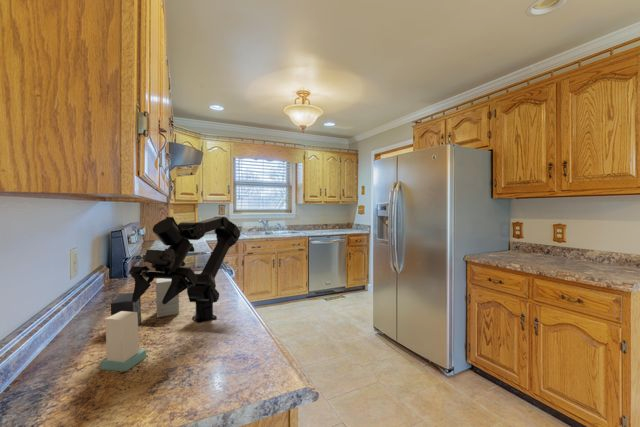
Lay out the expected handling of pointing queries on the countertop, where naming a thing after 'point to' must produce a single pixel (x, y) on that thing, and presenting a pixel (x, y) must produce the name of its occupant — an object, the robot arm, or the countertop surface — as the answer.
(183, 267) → the robot arm
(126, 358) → the cream column
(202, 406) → the countertop surface
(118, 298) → the small box
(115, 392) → the countertop surface
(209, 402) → the countertop surface
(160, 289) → the supplement box
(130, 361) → the teal square slab
